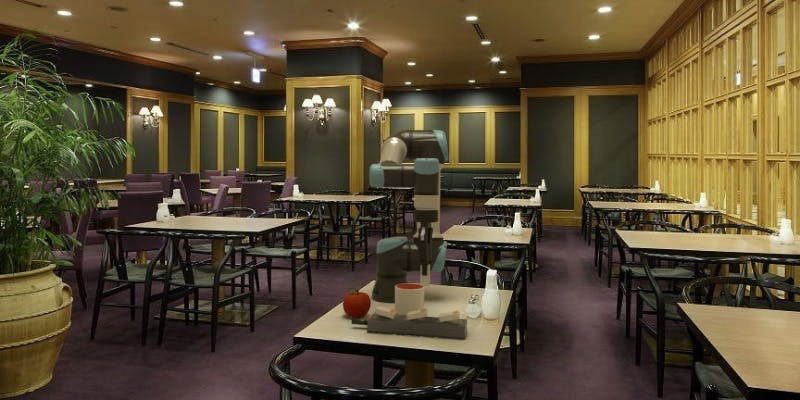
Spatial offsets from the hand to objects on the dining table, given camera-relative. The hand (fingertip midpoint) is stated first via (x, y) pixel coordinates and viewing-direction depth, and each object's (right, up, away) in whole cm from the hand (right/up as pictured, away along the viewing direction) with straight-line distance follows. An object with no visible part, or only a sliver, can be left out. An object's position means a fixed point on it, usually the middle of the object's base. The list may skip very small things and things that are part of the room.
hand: (425, 285), depth 179 cm
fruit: (-22, -14, +19) cm, 32 cm away
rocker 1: (-12, -9, +3) cm, 15 cm away
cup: (-5, -14, +22) cm, 26 cm away
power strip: (-5, -15, +2) cm, 16 cm away
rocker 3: (+8, -9, -1) cm, 12 cm away
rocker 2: (-2, -9, +1) cm, 9 cm away
